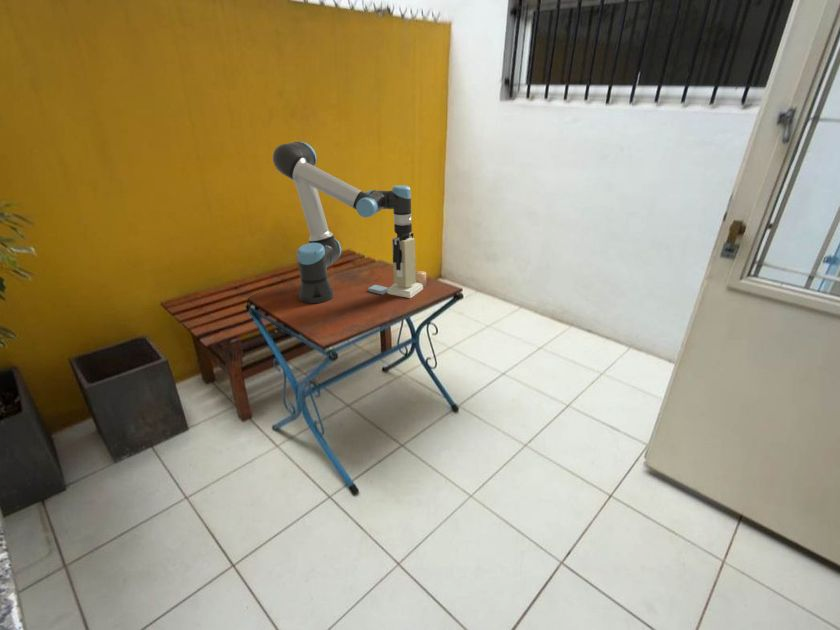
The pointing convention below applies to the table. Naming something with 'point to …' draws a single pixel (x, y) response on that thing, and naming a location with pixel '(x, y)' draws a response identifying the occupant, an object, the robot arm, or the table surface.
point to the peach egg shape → (421, 277)
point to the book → (378, 289)
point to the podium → (405, 290)
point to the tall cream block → (406, 263)
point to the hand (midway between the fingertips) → (404, 273)
